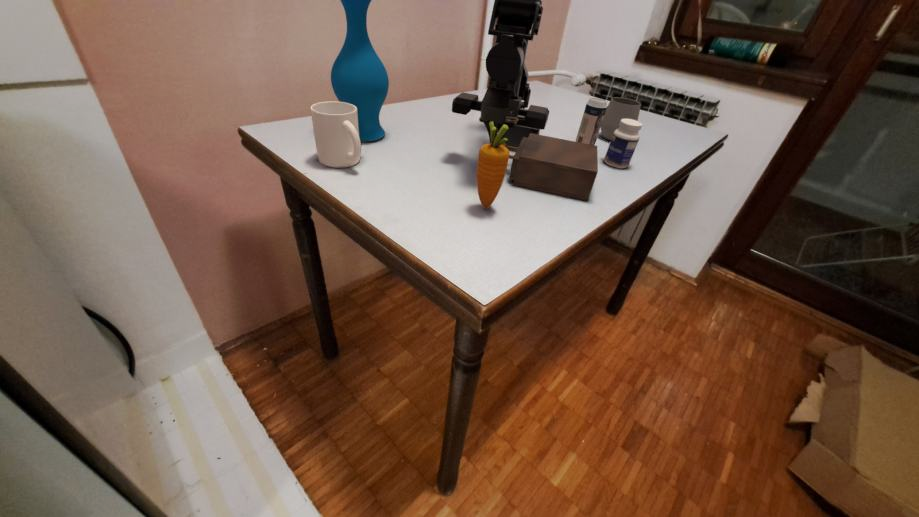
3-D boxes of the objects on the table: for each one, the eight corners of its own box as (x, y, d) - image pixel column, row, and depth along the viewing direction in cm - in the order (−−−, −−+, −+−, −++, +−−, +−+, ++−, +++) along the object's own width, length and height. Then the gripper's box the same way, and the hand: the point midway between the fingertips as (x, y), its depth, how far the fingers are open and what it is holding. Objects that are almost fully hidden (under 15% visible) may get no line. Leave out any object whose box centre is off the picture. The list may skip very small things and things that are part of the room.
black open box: (500, 148, 88) (504, 123, 84) (505, 140, 92) (509, 116, 89) (533, 154, 86) (538, 129, 83) (536, 146, 91) (541, 122, 87)
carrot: (470, 201, 66) (481, 115, 56) (496, 202, 66) (512, 118, 57) (473, 215, 62) (485, 126, 53) (501, 216, 62) (518, 128, 53)
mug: (379, 169, 72) (376, 116, 66) (341, 179, 67) (334, 123, 61) (347, 149, 78) (342, 99, 72) (310, 157, 74) (302, 104, 67)
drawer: (488, 174, 73) (491, 153, 71) (501, 151, 84) (504, 133, 81) (576, 193, 70) (583, 172, 68) (579, 167, 81) (585, 148, 78)
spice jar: (593, 155, 90) (609, 104, 83) (573, 151, 91) (588, 101, 83) (591, 148, 94) (607, 99, 87) (572, 145, 94) (587, 96, 87)
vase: (396, 130, 90) (395, -8, 73) (379, 148, 81) (373, -7, 63) (350, 123, 91) (338, -16, 74) (327, 140, 82) (307, -16, 64)
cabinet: (513, 185, 73) (519, 155, 69) (524, 159, 84) (529, 132, 80) (587, 201, 70) (597, 171, 66) (588, 172, 81) (597, 145, 78)
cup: (624, 147, 97) (639, 108, 91) (591, 137, 101) (603, 99, 95) (634, 139, 103) (648, 102, 97) (602, 130, 107) (614, 94, 101)
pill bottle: (598, 160, 88) (613, 118, 82) (616, 158, 90) (631, 117, 84) (615, 170, 84) (631, 126, 78) (633, 167, 86) (650, 125, 80)
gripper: (445, 70, 63) (440, 156, 73) (552, 88, 60) (531, 176, 70) (463, 61, 72) (456, 138, 81) (558, 76, 69) (538, 155, 78)
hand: (493, 151), depth 77 cm, fingers closed
